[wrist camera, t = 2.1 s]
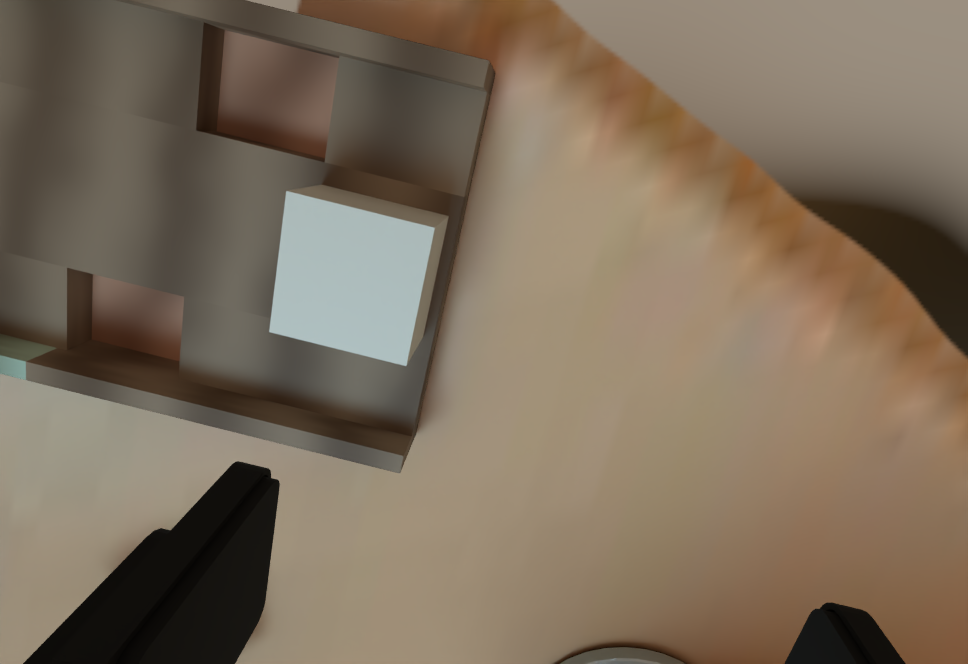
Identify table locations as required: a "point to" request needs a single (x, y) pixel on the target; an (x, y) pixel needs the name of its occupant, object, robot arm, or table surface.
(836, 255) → the table surface
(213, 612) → the robot arm
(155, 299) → the box
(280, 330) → the pale blue block
